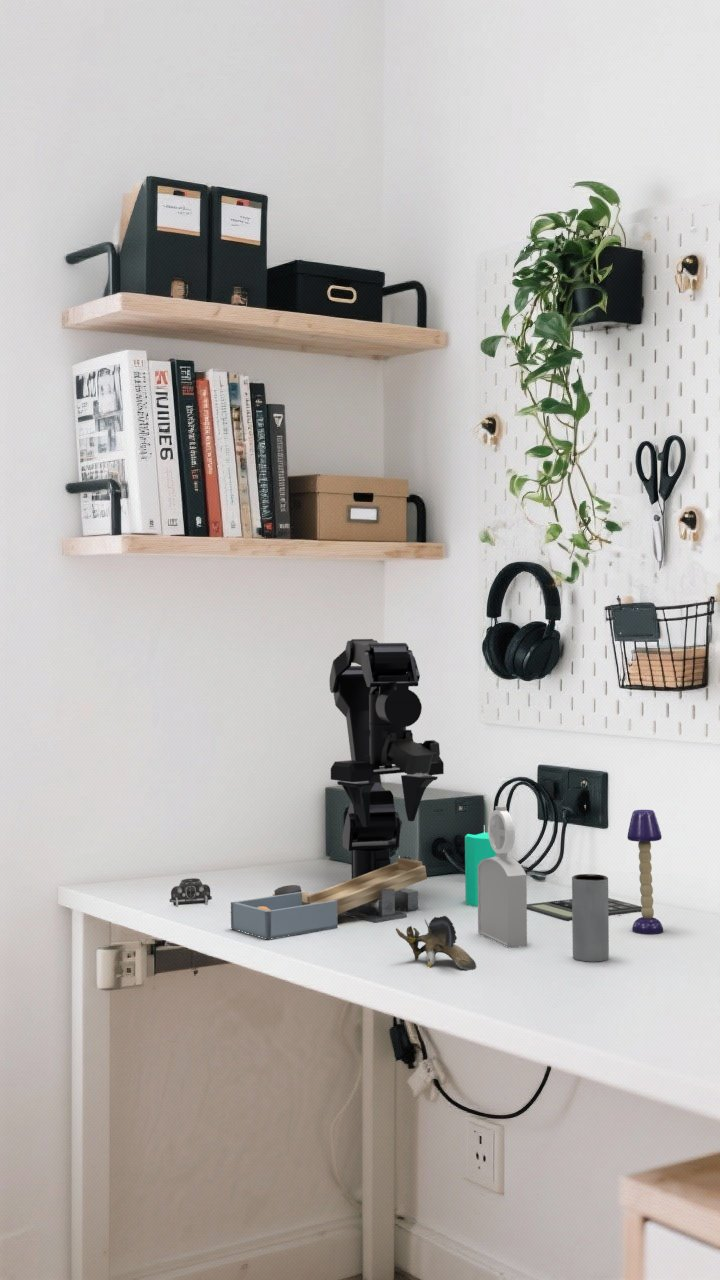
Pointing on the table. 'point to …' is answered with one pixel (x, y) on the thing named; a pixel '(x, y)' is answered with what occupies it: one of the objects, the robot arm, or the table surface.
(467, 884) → the candle
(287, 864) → the table surface
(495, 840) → the gravestone
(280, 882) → the table surface
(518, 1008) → the table surface
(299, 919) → the tray
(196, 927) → the table surface
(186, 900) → the car cutout
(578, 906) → the planter
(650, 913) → the toy lamp
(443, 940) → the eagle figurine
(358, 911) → the stand
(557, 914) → the calculator
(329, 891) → the lever
